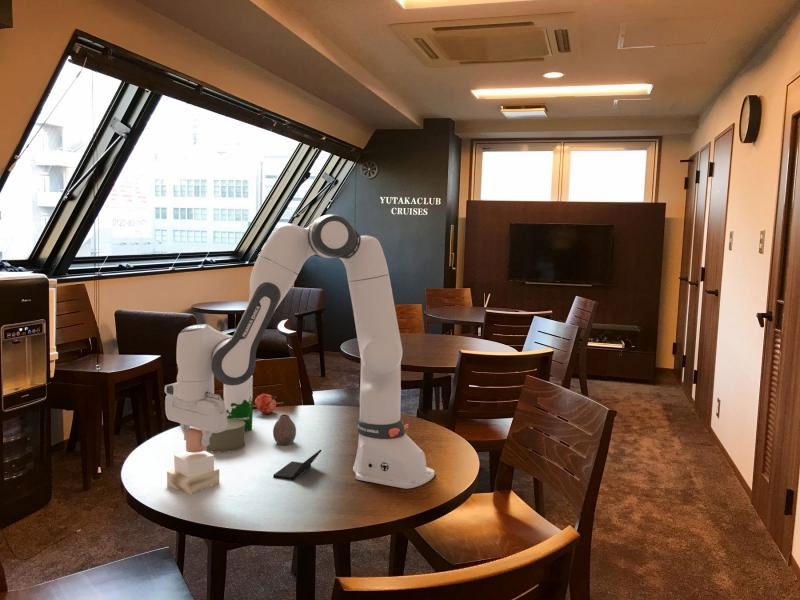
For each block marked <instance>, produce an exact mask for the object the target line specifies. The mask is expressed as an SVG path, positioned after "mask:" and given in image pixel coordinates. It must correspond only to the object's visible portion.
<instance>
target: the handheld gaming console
mask: <svg viewBox="0 0 800 600" xmlns="http://www.w3.org/2000/svg"><path fill="white" fill-rule="evenodd" d="M321 452H322V449H319V450H318V451H317V452H315V453H314V454H312V455H311V456H310V457H308V458H307V459H306V460H305V461H304V462H300V461H291V462H289V463H288V464H286V465H284V467H282V468H280V470H279V471H277V472H275V473H274V474H273V475H272V477H273V479H279V480H286V481H287V480H288V481H295V480H296V479H297V478H298V477H300V476H301V475H302V474H303V473H305V471H307V470H308V469H310V468H311V467H312V463H313V462H314V461H315V460H316V459H317V457H318V455H319V454H321ZM319 456H320V455H319Z"/></svg>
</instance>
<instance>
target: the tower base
mask: <svg viewBox="0 0 800 600" xmlns="http://www.w3.org/2000/svg"><path fill="white" fill-rule="evenodd" d="M217 483H218V484H219V483H220V468H217V467H215V466H214V471H210V472H207V473H204V474H200V475H197V476H193V477H190V478H188V477H186V476H184V475H182V474H180V473H178V472H177V471H175V468H174V469H170V470H168V471H166V484H167V485H166V486H168V485H169V486H168V487H170V486H172V487H171V488H173V487H174V489H175V488H176V490H178V491H180V490H181V492H183V493H185V492H186V493H185V494H188V495H191V493H192V494H194V493H197V492H198V491H202V490H205V489H207V488H210V487H212V486H215V485H218V484H217ZM211 485H212V486H211ZM209 486H210V487H209ZM206 487H207V488H206ZM204 488H205V489H204ZM201 489H202V490H201ZM196 491H197V492H196Z"/></svg>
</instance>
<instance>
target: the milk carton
mask: <svg viewBox="0 0 800 600" xmlns="http://www.w3.org/2000/svg"><path fill="white" fill-rule="evenodd" d="M253 378H254V376H253V375H252V376H251V377H250V378H249V379H248V380H247V381H246V382H244V383H242V384H239V385H226V384H223V400H224V404H225V406H226V412H227V418H234V419H240V420H243V421H244V422H245V432H247V431H252V430H253V415H254V414H253V412H254V411H253V410H254V409H253V408H254V407H253V405H254V404H253V403H254V401H253V399H254V398H253V391H254V390H253V383H254V379H253Z"/></svg>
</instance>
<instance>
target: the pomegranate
mask: <svg viewBox="0 0 800 600" xmlns="http://www.w3.org/2000/svg"><path fill="white" fill-rule="evenodd" d="M275 399H277V396H276V395H274V396H272V395H271V394H268V393H261V394H260V395H257V397H256V398H255V400H254V405H256V410H255V411H254V413H256V412H260V413H261V414H262V415H269V414H270V413H272V412H274V410H276V406H277V401H276V400H275Z"/></svg>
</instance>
